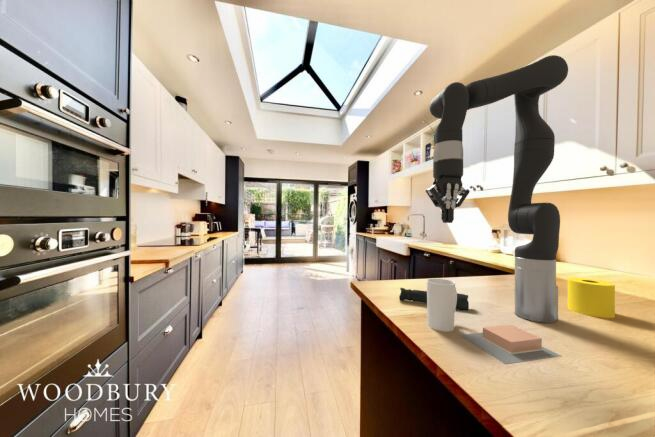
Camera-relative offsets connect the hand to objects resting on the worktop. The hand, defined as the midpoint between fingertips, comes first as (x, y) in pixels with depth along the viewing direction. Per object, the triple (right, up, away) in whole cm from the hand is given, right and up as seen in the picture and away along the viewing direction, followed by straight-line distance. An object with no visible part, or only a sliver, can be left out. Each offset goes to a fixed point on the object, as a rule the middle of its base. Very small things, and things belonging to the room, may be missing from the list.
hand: (447, 222), depth 68 cm
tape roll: (+49, -28, +8) cm, 57 cm away
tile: (+4, -26, -14) cm, 30 cm away
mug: (-2, -28, -3) cm, 28 cm away
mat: (+6, -27, -14) cm, 31 cm away
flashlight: (+1, -28, +13) cm, 31 cm away
